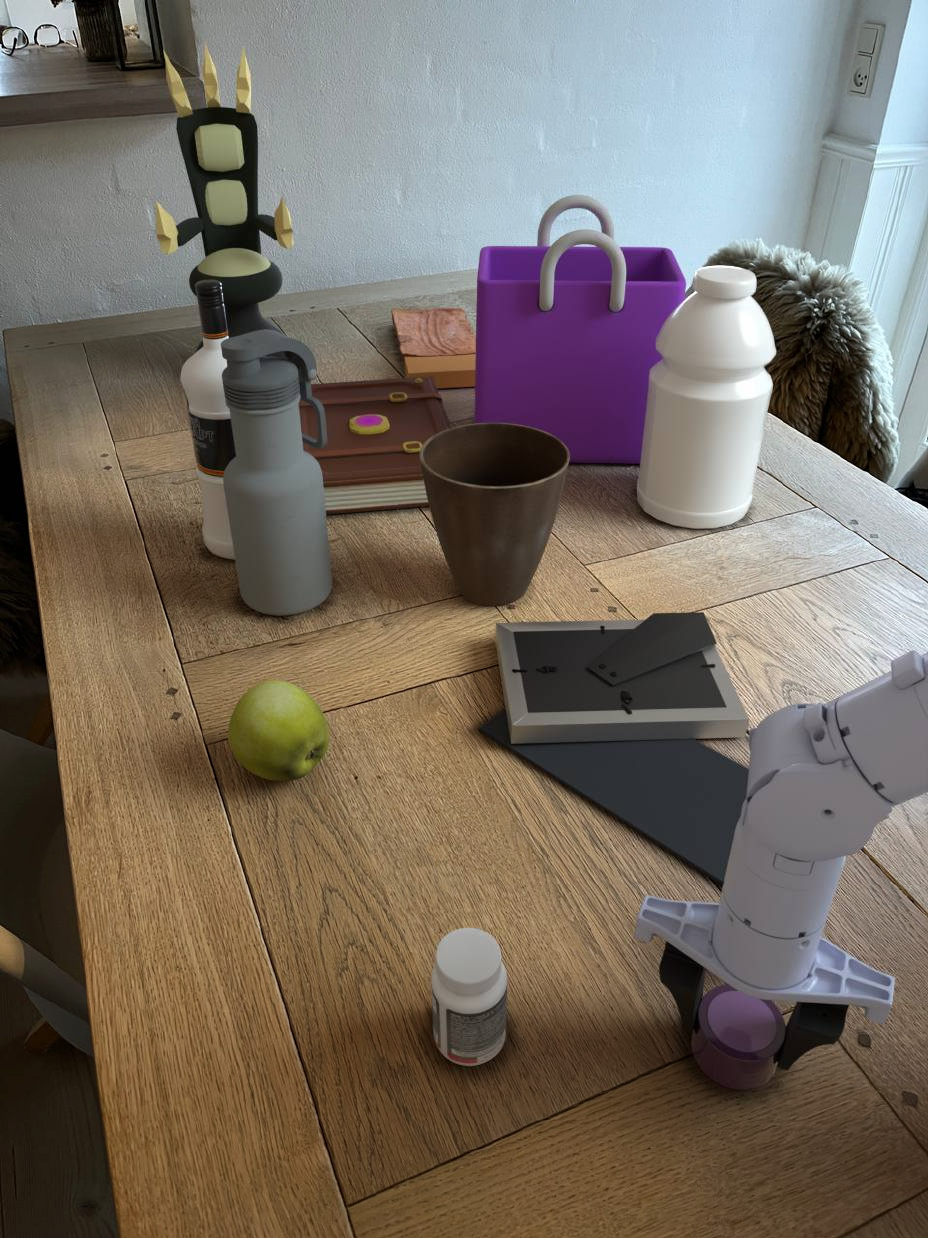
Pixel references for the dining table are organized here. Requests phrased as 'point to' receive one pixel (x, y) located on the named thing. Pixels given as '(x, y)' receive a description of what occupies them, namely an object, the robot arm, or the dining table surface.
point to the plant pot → (493, 504)
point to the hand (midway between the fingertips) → (737, 1038)
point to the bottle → (707, 404)
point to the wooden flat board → (437, 345)
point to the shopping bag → (573, 335)
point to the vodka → (210, 417)
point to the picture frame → (616, 680)
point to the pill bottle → (469, 997)
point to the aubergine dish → (737, 1038)
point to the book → (374, 441)
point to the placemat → (650, 789)
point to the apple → (278, 731)
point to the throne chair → (226, 200)
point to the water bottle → (275, 475)
